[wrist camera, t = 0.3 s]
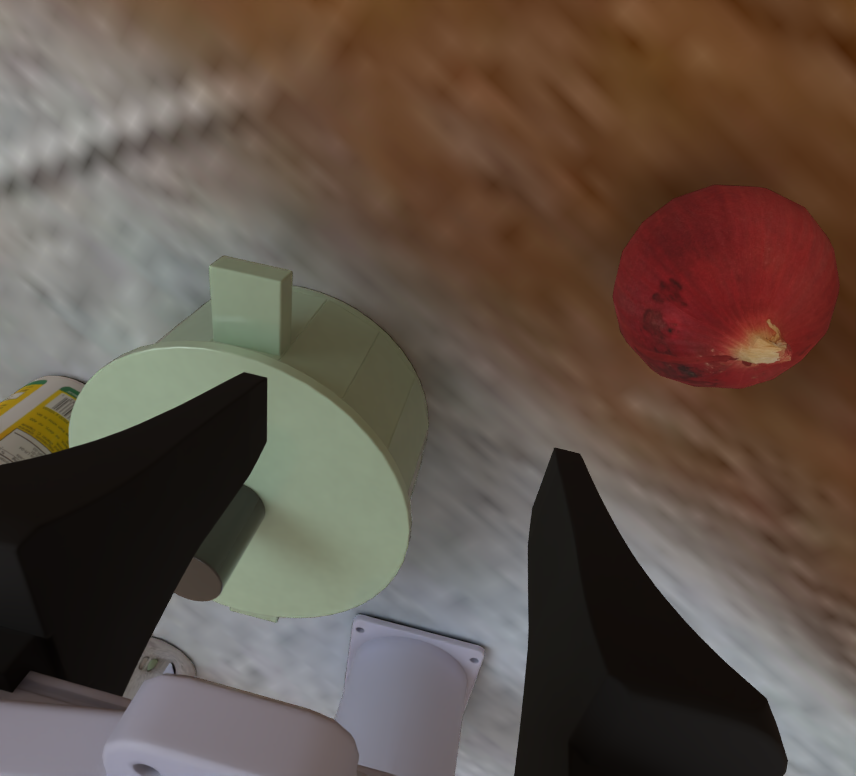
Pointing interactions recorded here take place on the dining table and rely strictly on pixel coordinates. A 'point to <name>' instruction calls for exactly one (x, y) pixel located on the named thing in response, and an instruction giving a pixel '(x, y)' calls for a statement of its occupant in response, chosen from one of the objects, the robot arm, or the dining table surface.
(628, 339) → the onion
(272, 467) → the lid
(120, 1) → the dining table surface
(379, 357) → the pot
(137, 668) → the beer glass
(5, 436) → the supplement bottle
